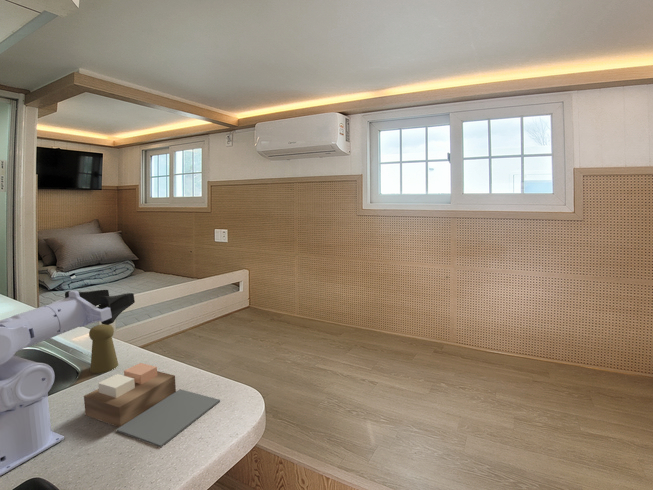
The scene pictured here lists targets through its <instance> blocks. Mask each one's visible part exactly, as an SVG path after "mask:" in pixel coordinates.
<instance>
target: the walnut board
mask: <svg viewBox="0 0 653 490" xmlns="http://www.w3.org/2000/svg"><path fill="white" fill-rule="evenodd" d="M176 386H177V385H176V375H174V374H172V373H171V374H170V373H167V372H163V371H158V370H157V376H156V377H154V378H152V379H150V380H148V381H147V382H145V383H143V384H138V383H135V388H134V389H132V390H130V391H128V392H126V393H125V394H123V395H121V396H119V397H117V398H115V397H112V396H109V395H105V394H102V393H99V388H97V389H95V390H94V391H93V390H92V391H91V392H89V393H87V394H85V395H83V401H84V414H85V416H86V417H90V418H92V419H95V420H98V421H101V422H103V423H106V424H109V425H112V426H115V427H117V428H119V427H121V426H122V425H124V424H126V423H127V422H129V421H130V420H132V419H134V418H135V417H137V416H138V415H140V414H141V413H143V412H145V411H146V410H148V409H149V408H151V407H153V406H154V405H156V404H157V403H159V402H160V401H162V400H164V399H165V398H167V397H168V396H170V395H172V394H173V393H175V392H176V391H177V390H176Z"/></svg>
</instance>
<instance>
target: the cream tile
mask: <svg viewBox="0 0 653 490" xmlns="http://www.w3.org/2000/svg"><path fill="white" fill-rule="evenodd" d="M97 384H98V389H99V393H102V394H105V395H109V396H112V397H115V398H117V397H119V396H121V395H123V394H125V393H126V392H128V391H130V390H132V389H134V388H135V382H134V378H130V377H127V376H124V374H118V373H116V374H114V375H112V376H110V377H108V378H106V379H103V380H101V381H100V382H98V383H97Z"/></svg>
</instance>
